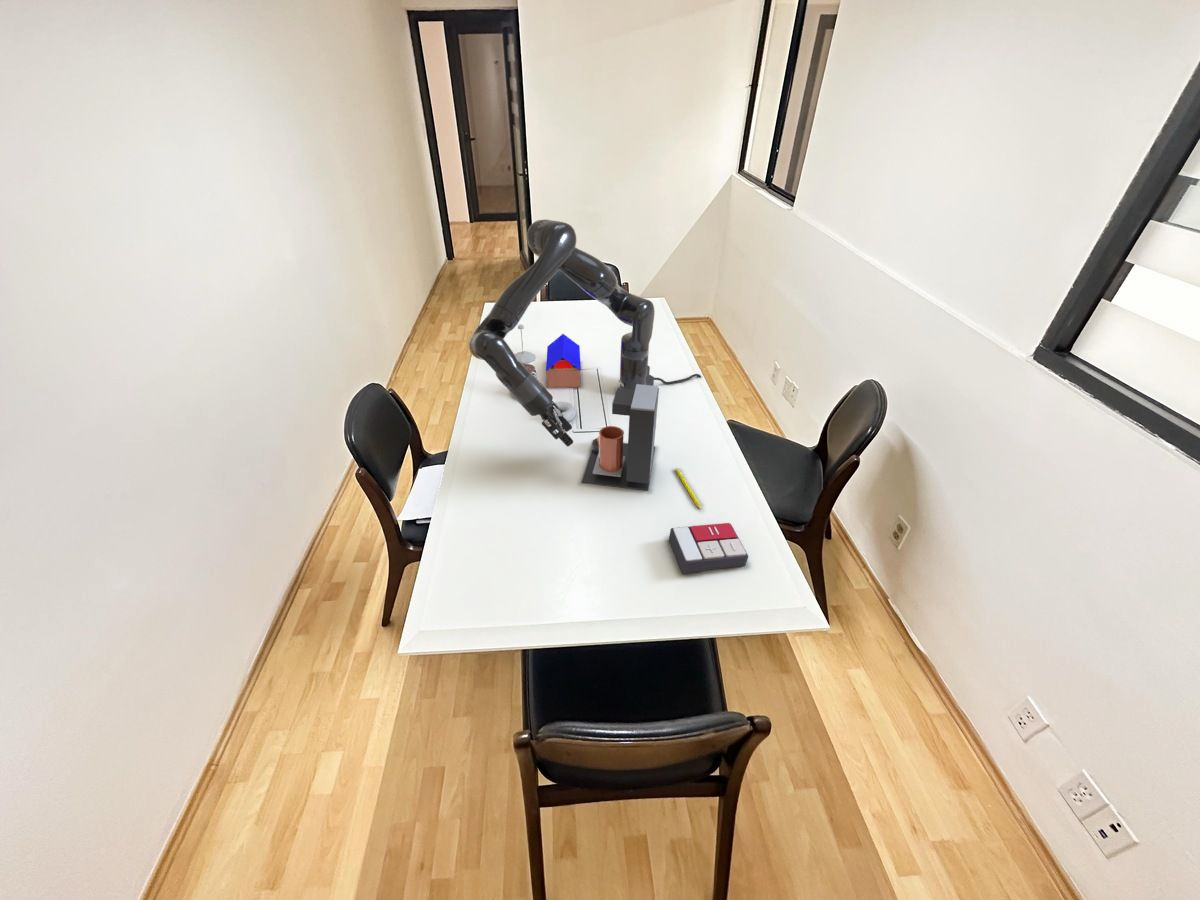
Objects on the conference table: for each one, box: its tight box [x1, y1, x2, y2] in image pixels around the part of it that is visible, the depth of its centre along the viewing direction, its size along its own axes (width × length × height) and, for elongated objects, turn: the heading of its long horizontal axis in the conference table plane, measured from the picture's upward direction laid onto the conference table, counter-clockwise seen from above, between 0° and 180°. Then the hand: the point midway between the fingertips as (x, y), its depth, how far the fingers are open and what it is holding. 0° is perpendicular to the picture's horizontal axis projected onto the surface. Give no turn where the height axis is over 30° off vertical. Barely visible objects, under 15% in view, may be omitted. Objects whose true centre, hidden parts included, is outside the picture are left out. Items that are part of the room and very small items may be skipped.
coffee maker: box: [592, 384, 660, 485], centre depth 136 cm, size 15×12×23 cm
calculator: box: [668, 522, 749, 575], centre depth 120 cm, size 11×4×15 cm
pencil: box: [675, 468, 702, 510], centre depth 139 cm, size 16×1×1 cm, turn 14°
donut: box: [554, 401, 577, 423], centre depth 167 cm, size 10×4×10 cm
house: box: [545, 333, 582, 389], centre depth 188 cm, size 12×20×12 cm, turn 3°
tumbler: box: [598, 425, 625, 472], centre depth 140 cm, size 6×6×10 cm
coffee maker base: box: [581, 437, 656, 492], centre depth 147 cm, size 18×20×3 cm
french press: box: [511, 324, 538, 399], centre depth 173 cm, size 10×12×25 cm
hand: (570, 436), depth 142 cm, fingers open, 8 cm apart
